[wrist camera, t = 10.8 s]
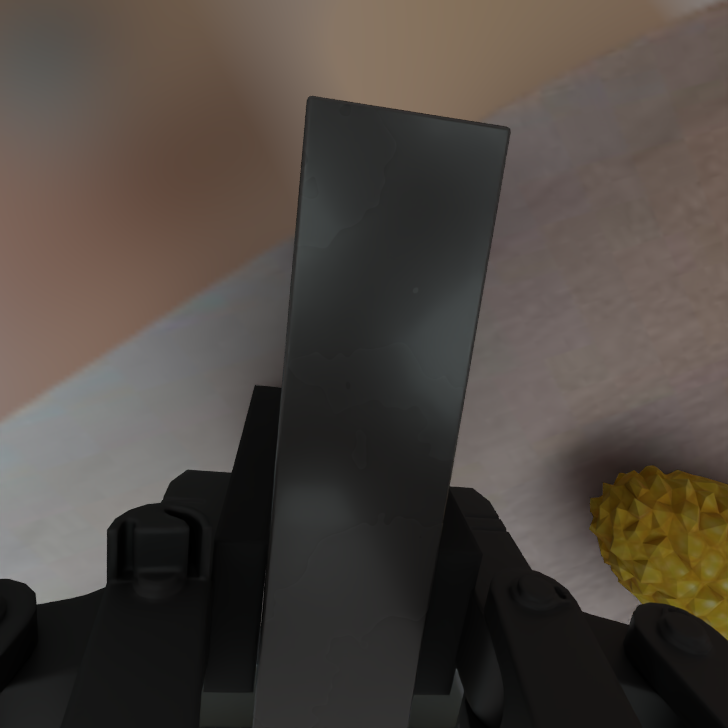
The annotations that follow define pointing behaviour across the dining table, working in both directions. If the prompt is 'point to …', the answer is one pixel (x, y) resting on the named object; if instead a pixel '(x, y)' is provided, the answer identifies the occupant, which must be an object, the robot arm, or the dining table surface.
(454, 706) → the board
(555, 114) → the dining table surface
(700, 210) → the dining table surface
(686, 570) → the food
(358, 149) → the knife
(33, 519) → the dining table surface
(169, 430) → the dining table surface
